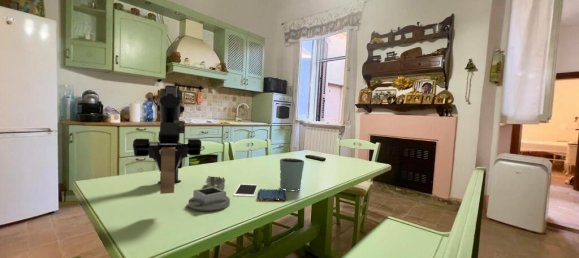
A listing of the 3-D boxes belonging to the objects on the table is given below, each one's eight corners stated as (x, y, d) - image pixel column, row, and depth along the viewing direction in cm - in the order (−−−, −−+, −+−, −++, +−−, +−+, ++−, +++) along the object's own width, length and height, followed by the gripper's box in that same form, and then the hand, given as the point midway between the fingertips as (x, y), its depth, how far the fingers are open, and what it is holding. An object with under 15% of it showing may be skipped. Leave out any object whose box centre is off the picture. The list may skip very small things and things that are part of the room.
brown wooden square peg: (161, 190, 77) (162, 147, 76) (174, 189, 78) (175, 147, 78) (160, 193, 74) (161, 149, 73) (174, 192, 75) (175, 148, 74)
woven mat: (257, 193, 101) (258, 188, 101) (284, 194, 102) (285, 189, 101) (256, 202, 90) (256, 196, 90) (286, 203, 91) (286, 197, 91)
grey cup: (273, 188, 107) (275, 159, 106) (287, 183, 115) (289, 157, 115) (293, 193, 101) (295, 163, 101) (307, 188, 110) (308, 160, 109)
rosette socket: (181, 203, 84) (181, 189, 84) (216, 195, 94) (217, 183, 94) (200, 215, 75) (200, 200, 75) (237, 205, 85) (237, 192, 85)
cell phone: (232, 197, 94) (232, 195, 94) (240, 185, 111) (240, 183, 111) (253, 197, 95) (253, 196, 95) (258, 185, 111) (258, 184, 111)
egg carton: (224, 191, 100) (224, 181, 100) (204, 191, 99) (204, 181, 99) (225, 183, 111) (226, 174, 111) (207, 183, 109) (207, 174, 109)
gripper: (134, 111, 74) (127, 155, 65) (201, 114, 82) (204, 153, 73) (137, 135, 82) (131, 177, 73) (199, 136, 90) (200, 174, 80)
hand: (167, 170), depth 74 cm, fingers closed on brown wooden square peg, 4 cm apart
